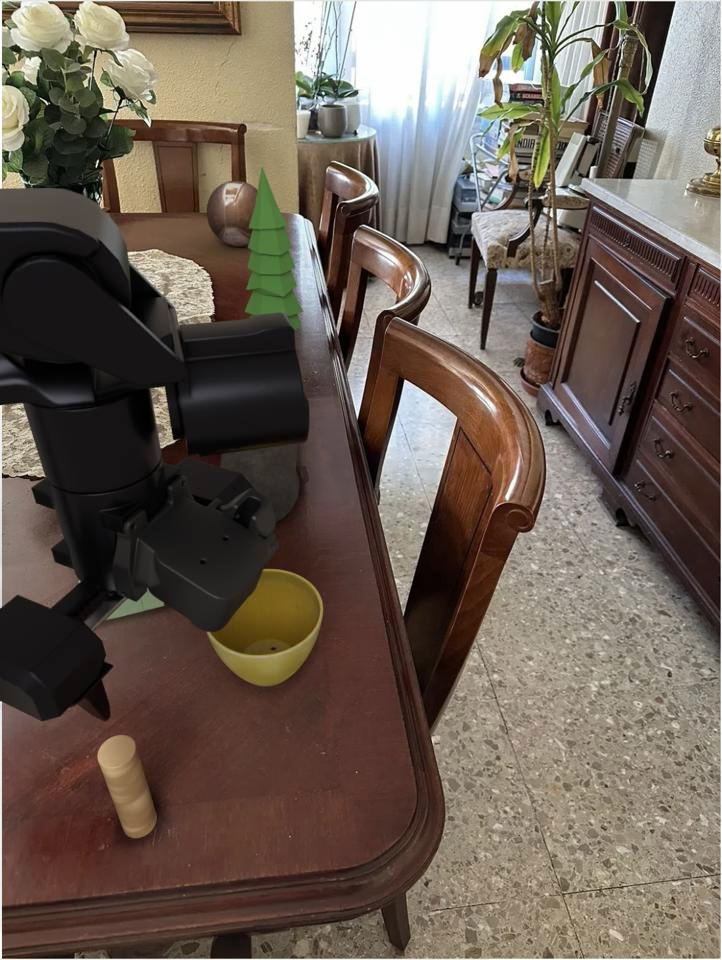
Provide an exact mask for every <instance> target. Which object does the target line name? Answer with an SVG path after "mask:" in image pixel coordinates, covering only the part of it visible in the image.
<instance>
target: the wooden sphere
mask: <svg viewBox="0 0 722 960" xmlns="http://www.w3.org/2000/svg"><path fill="white" fill-rule="evenodd" d="M257 191H258V188H256V187H255V186H254V185H252V184H250V183H248V182H245V181H242V180H229V181H225V182H222V183H221V184H220V185H218V186H217V187H216V188H215V189H213V191H212V193H211V194H210V196H209V197H208V200H207V203H206V220H207V223H208V225H209V228H210V229H211V231H212V233H213V234H214V236H215V237H217V238H218V239H219V241H221V242H223V243H225V244H227V245H228V246H232V247H237V248H243V247H248V245H249V242H250V238H251V234H252V231H253V228H249V225H250V221H251V218H252V215H253V211H254V208H255V204H256V197H257Z"/></svg>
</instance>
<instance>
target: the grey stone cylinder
mask: <svg viewBox="0 0 722 960" xmlns="http://www.w3.org/2000/svg"><path fill="white" fill-rule="evenodd" d="M298 447H299V444H292V445H284V446H277V447H269V448H262V449H255V450H247V451H240V452H232V453H225V454H221V457H220V466H219V467H222V468H226V469H229V470H232V471H236V472H239V473H242V474H243V475H244V476H245V477H246V478H247V479H248V480H249V481H250V482H251V484H252V485H253V486H254V488H255V490H257V491H258V492H260V493H262V494H263V495H265V496H266V497H268V498H270V499H271V501H272V507H273V512H274V517H275V522H276V523H277V522H280V521H281V520H282V519H284V518H286V516H288V514H289V513H290V512H291V511H292V509H293V508H294V507H295V506H296V502H297V501H298V498H299V495H300V494H299V493H300V477H299V475H298V472H297V461H298V451H299V450H298Z"/></svg>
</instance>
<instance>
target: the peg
mask: <svg viewBox="0 0 722 960" xmlns="http://www.w3.org/2000/svg"><path fill="white" fill-rule="evenodd" d="M139 754H140V753H139V751H138V748H137V744H136V742H135V740H134V739H133V738H132V737H131V736H129V735H125V734H118V735H114V736H111V737H109V738H108V739H106V740H105V741H104V742H103V743H102V744H101V746H100V747H99V749H98V751H97V761H98V764H99V767H100V770H101V773H102V775H103V778H104V780H105V783H106V786H107V789H108V792H109V794H110V797H111V800H112V803H113V805H114V807H115V811H116V813H117V817H118V819H119V821H120V824H121V827H122V830H123V833H124V834H125V835H126V836H128V837H129V838H131V839H140V838H143V837H145V836H147V835H148V834H150V833H151V832H152V831H153V829H154V828H155V826H156V824H157V820H158V817H157V816H158V813H157V811H156V808H155V805H154V801H153V798H152V794H151V791H150V788H149V785H148V781H147V778H146V775H145V771H144V767H143V764H142V761H141V758H140V755H139Z"/></svg>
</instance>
